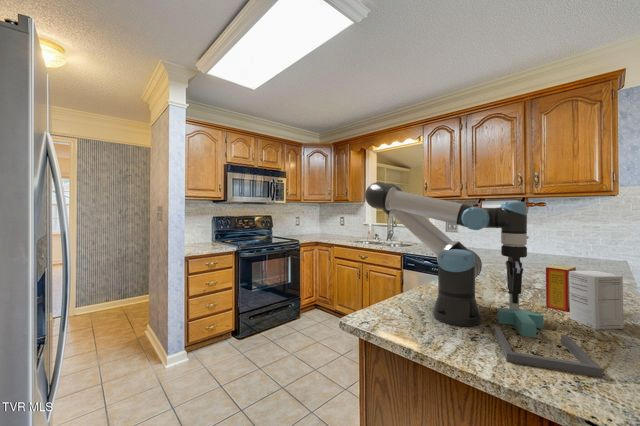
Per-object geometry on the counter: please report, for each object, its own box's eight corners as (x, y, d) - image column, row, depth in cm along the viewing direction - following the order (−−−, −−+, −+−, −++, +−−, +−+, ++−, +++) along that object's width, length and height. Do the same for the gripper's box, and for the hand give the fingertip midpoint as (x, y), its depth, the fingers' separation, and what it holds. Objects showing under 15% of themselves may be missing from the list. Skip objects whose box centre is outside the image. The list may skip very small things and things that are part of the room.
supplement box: (595, 318, 97) (594, 270, 97) (625, 329, 88) (624, 275, 88) (568, 318, 97) (568, 270, 97) (595, 329, 88) (595, 276, 88)
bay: (506, 361, 69) (506, 353, 69) (493, 332, 86) (493, 325, 86) (602, 377, 62) (602, 368, 62) (567, 342, 79) (567, 335, 79)
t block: (505, 333, 85) (504, 320, 85) (497, 319, 97) (497, 307, 97) (554, 340, 81) (553, 326, 81) (539, 324, 92) (539, 312, 92)
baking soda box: (555, 302, 114) (554, 263, 114) (576, 307, 109) (575, 266, 109) (546, 307, 109) (545, 266, 109) (567, 312, 103) (567, 269, 103)
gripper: (532, 247, 92) (532, 319, 92) (521, 243, 104) (521, 307, 104) (505, 246, 95) (505, 316, 95) (497, 243, 107) (498, 304, 107)
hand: (514, 311), depth 99 cm, fingers closed
